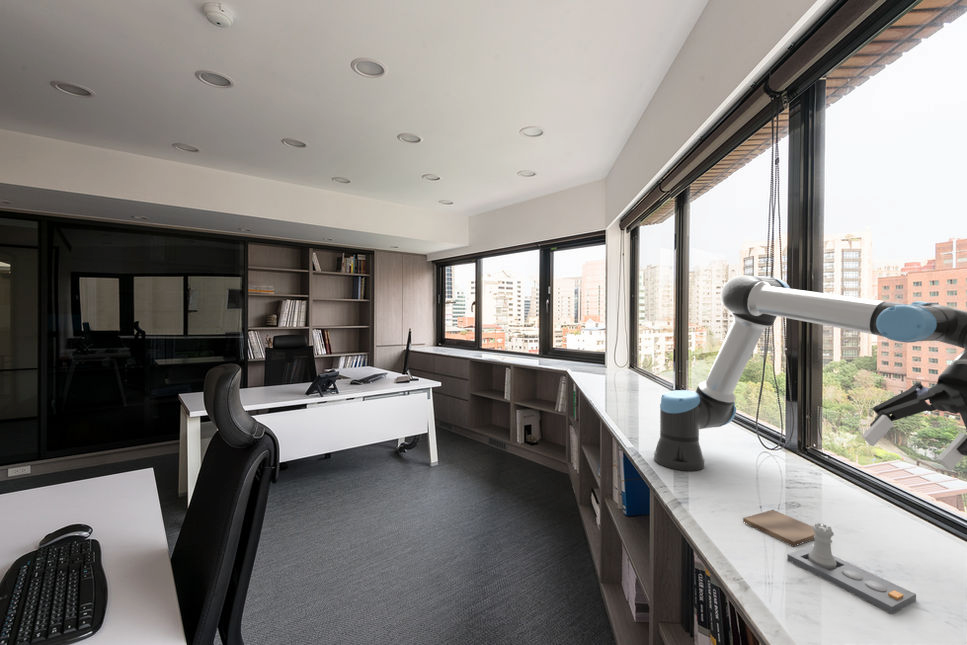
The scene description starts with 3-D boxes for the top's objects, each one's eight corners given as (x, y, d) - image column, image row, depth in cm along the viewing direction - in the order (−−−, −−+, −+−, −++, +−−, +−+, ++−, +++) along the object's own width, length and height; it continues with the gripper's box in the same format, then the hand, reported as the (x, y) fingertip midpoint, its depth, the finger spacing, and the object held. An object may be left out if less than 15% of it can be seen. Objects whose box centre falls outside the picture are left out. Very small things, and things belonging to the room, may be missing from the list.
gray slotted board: (787, 560, 82) (787, 552, 82) (811, 551, 85) (811, 543, 85) (891, 613, 67) (892, 604, 67) (915, 600, 71) (916, 591, 71)
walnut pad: (743, 522, 97) (743, 517, 97) (772, 513, 101) (772, 509, 101) (793, 546, 87) (793, 541, 87) (823, 535, 91) (824, 531, 91)
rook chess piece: (830, 576, 77) (831, 534, 77) (802, 563, 81) (803, 523, 81) (841, 570, 79) (842, 529, 79) (814, 557, 83) (815, 518, 83)
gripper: (1083, 401, 68) (998, 492, 68) (916, 378, 93) (853, 445, 93) (1055, 370, 68) (970, 461, 67) (895, 355, 93) (831, 422, 92)
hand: (902, 452), depth 80 cm, fingers open, 13 cm apart
